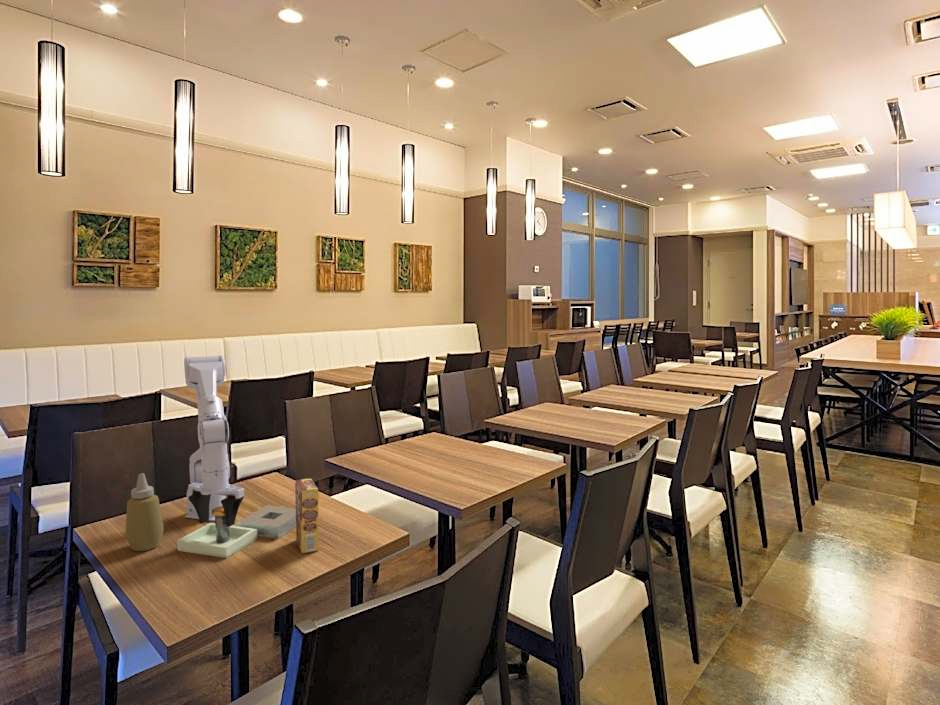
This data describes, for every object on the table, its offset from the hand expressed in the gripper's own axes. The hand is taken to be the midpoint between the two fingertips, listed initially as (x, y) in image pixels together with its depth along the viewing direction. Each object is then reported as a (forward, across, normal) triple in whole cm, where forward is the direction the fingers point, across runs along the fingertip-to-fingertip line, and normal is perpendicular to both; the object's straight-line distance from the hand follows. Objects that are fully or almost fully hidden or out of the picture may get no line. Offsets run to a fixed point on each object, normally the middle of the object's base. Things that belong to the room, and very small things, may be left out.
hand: (217, 523), depth 138 cm
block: (+5, +6, +13) cm, 15 cm away
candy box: (+6, +21, +6) cm, 23 cm away
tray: (+5, 0, 0) cm, 5 cm away
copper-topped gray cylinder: (+5, 0, +1) cm, 5 cm away
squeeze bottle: (+6, -16, -6) cm, 18 cm away
